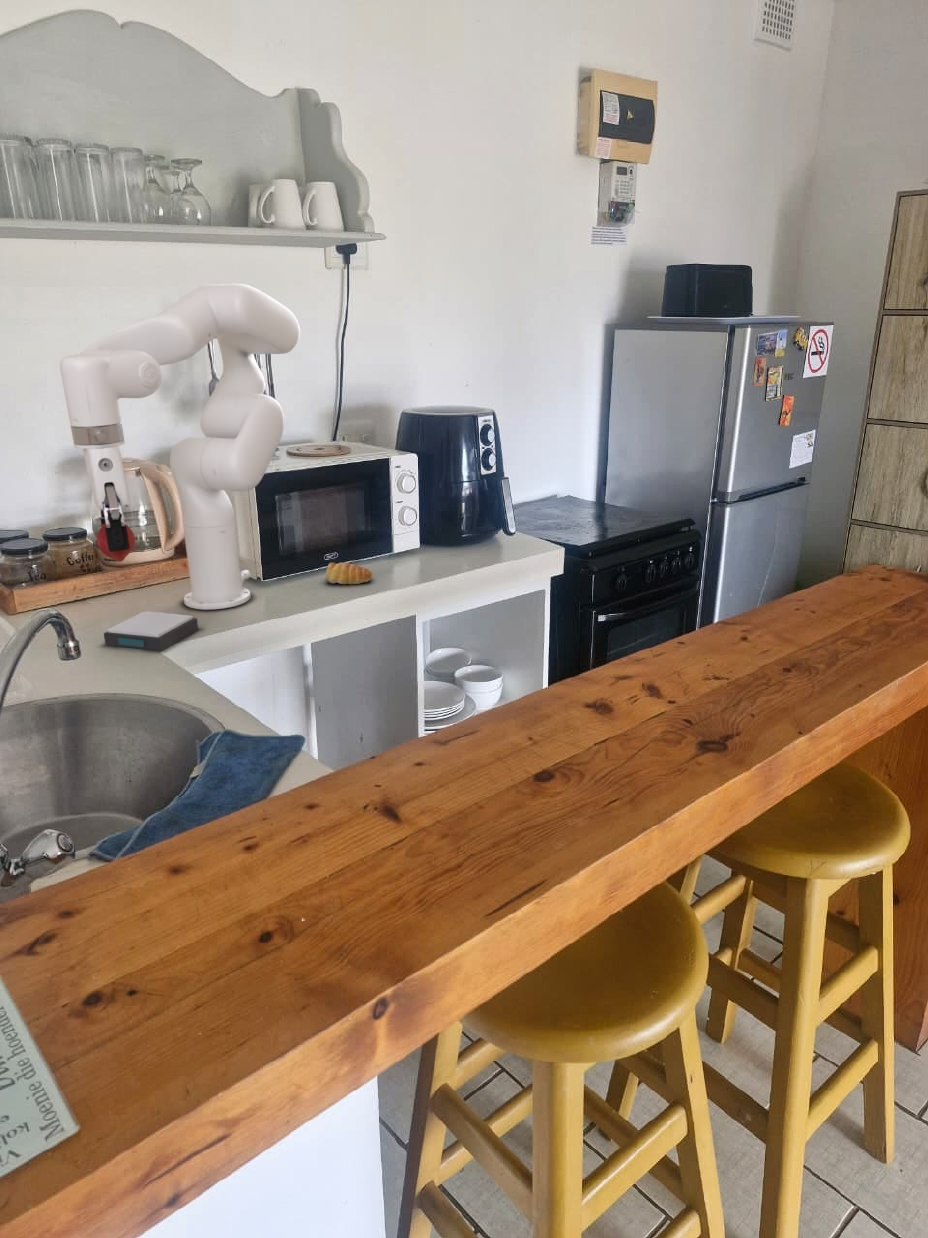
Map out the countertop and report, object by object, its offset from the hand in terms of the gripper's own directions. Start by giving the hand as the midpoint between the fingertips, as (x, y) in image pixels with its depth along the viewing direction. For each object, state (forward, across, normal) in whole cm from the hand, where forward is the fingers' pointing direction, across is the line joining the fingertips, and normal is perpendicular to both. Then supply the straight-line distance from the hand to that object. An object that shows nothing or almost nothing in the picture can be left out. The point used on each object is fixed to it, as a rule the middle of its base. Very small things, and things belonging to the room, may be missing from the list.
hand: (116, 544), depth 144 cm
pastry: (+19, +16, -45) cm, 51 cm away
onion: (+3, 0, 0) cm, 3 cm away
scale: (+17, -1, -3) cm, 17 cm away
